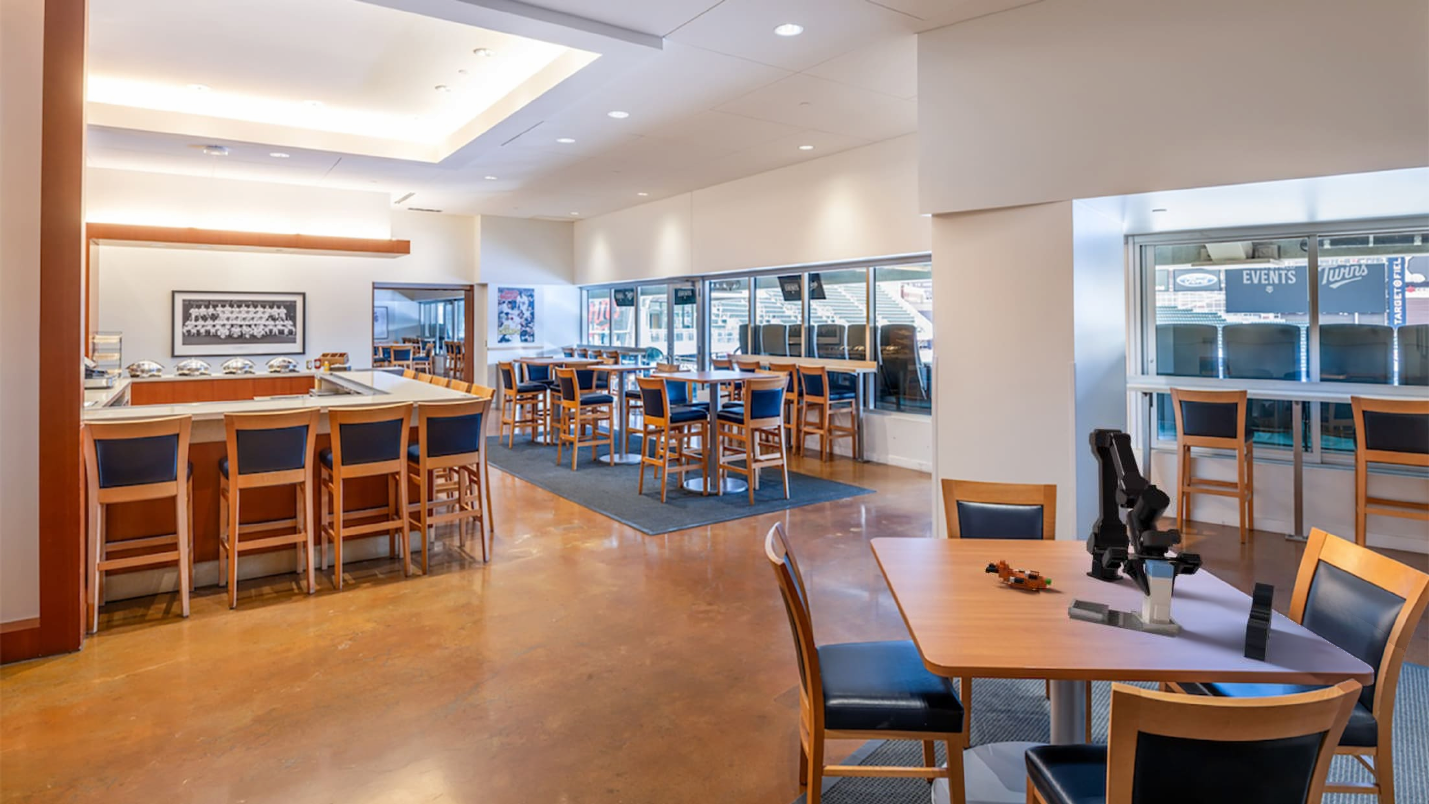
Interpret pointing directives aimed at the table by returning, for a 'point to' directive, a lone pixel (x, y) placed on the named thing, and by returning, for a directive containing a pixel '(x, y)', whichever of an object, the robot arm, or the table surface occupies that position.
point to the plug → (1158, 592)
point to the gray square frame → (1155, 624)
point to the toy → (1018, 576)
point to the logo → (1259, 622)
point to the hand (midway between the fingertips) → (1159, 596)
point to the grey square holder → (1088, 614)
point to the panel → (1119, 621)
